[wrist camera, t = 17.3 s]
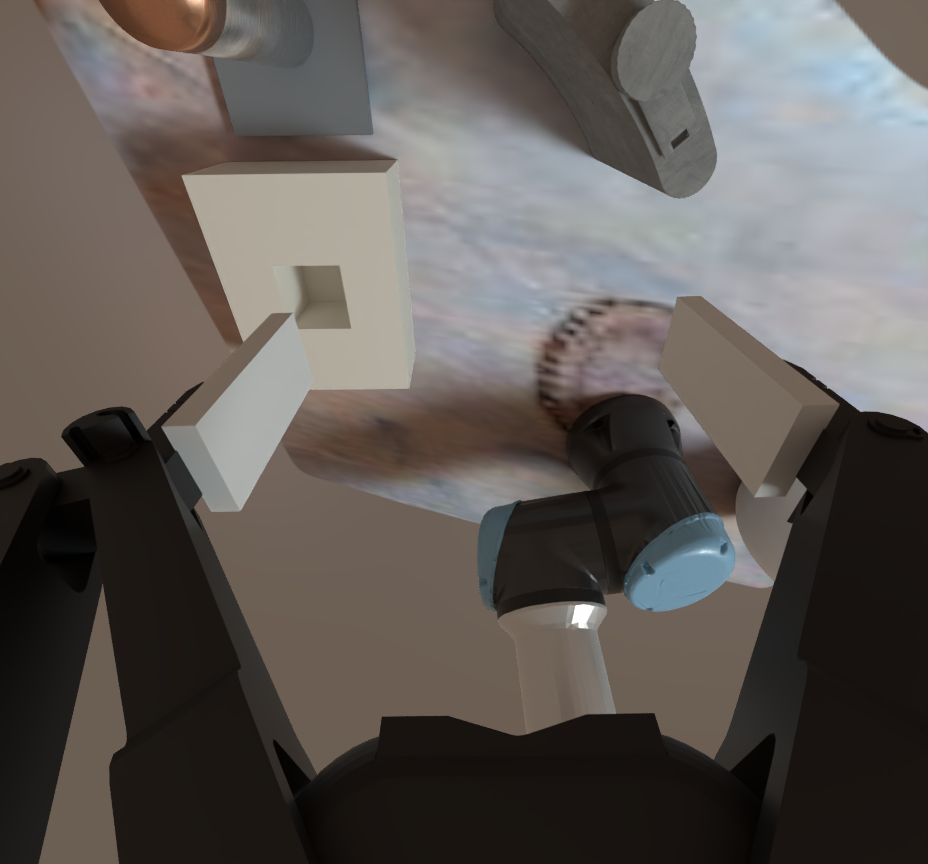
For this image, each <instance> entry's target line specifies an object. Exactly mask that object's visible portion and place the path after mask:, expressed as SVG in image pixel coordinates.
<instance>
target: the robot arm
mask: <svg viewBox="0 0 928 864" xmlns="http://www.w3.org/2000/svg"><path fill="white" fill-rule="evenodd" d="M658 370H659V371H660V372H661V374H662V375H663V376H664V378H665V379H666V380H667V382H668V383H669V384H670V386H671V387H672V388H673V390H674V391H675V392H676V394H677V395H678V396H679V398H680V399H681V400H682V402H683V403H684V404H685V406H686V407H687V408H688V410H689V411H690V412H691V414H692V415H693V416H694V418H695V419H696V420H697V422H698V423H699V424H700V426H701V427H702V428H703V430H704V431H705V432H706V433H707V435H708V436H709V437H710V439H711V440H712V441H713V443H714V444H715V445H716V447H717V448H718V449H719V451H720V452H721V453H722V455H723V456H724V457H725V459H726V460H727V461H728V463H729V464H730V465H731V467H732V468H733V469H734V471H735V472H736V473H737V475H738V476H739V477H740V479H741V480H742V481H743V483H744V484H745V485H746V487H747V488H748V489H749V491H750V492H751V493H752V495H753V496H754V497H784V496H786V495H787V493H788V492H789V490H790V488H791V486H792V485H793V483H794V481H795V480H796V478H797V479H798V480H799V481H800V482H801V483H802V484H803V485H804V486H805V487H806V489H807V490H806V491H805V493H804V495H803V496H802V498H801V499H800V501H799V503H798V504H797V506H796V507H795V509H794V511H793V512H792V514H791V515H790V517H789V519H788V520H787V522H789V523H791V524H792V523H793V524H792V527H791V531H790V534H789V537H788V540H787V544H786V547H785V550H784V553H783V556H782V560H781V563H780V566H779V569H778V573H777V576H776V579H775V582H774V585H773V589H772V592H771V595H770V598H769V602H768V605H767V608H766V611H765V615H764V618H763V621H762V624H761V627H760V631H759V634H758V637H757V641H756V644H755V647H754V650H753V653H752V657H751V660H750V663H749V666H748V669H747V673H746V676H745V679H744V682H743V686H742V689H741V692H740V695H739V698H738V702H737V705H736V708H735V711H734V715H733V718H732V721H731V724H730V727H729V730H728V733H727V735H726V737H725V740H724V741H723V743H722V745H721V747H720V749H719V751H718V753H717V754H716V756H715V759H714V760H713V759H711V758H710V757H708V756H707V755H705V754H703V753H701V752H700V751H698V750H696V749H694V748H693V747H691V746H689V745H687V744H685V743H682V742H680V741H678V740H675V739H673V738H671V737H668V736H664V735H661V733H660V730H659V727H658V723H657V720H656V717H655V714H654V713H645V714H644V713H642V714H616V711H615V707H614V703H613V698H612V694H611V690H610V685H609V682H608V677H607V673H606V668H605V664H604V660H603V656H602V651H601V647H600V643H599V639H598V634H597V629H598V627H599V625H600V623H601V622H602V620H603V618H604V617H605V615H606V614H607V608H606V605H605V601H604V597H603V595H608V594H616V593H624V594H625V596H626V598H627V599H628V600H629V601H630V602H631V604H632V605H634V606H635V607H637V608H639V609H642V610H644V609H647V610H649V611H667V610H672V609H677V608H680V607H684V606H687V605H689V604H692V603H694V602H696V601H698V600H700V599H702V598H704V597H706V596H708V595H709V594H710V593H712V592H713V591H714V590H716V589H717V588H718V587H719V586H721V585H722V584H723V583H724V582H725V581H726V579H727V578H728V577H729V575H730V574H731V572H732V570H733V568H734V565H735V557H736V556H735V550H734V547H733V544H732V542H731V540H730V539H729V537H728V535H727V533H726V531H725V529H724V525H723V521H722V520H721V518H720V517H719V516H718V515H717V514H716V512H715V511H714V509H713V508H712V506H711V504H710V503H709V501H708V499H707V498H706V496H705V495H704V493H703V491H702V490H701V488H700V487H699V485H698V483H697V482H696V480H695V479H694V477H693V475H692V474H691V472H690V470H689V469H688V467H687V466H686V464H685V462H684V460H683V452H682V443H681V433H680V429H679V426H678V423H677V421H676V420H675V418H674V416H673V415H672V413H671V412H670V410H669V409H668V408H667V407H666V406H665V405H664V404H662V403H661V402H659V401H657V400H655V399H653V398H649V397H645V396H638V395H627V396H620V397H615V398H611V399H608V400H606V401H603V402H601V403H599V404H597V405H595V406H593V407H592V408H590V409H589V410H587V411H586V412H585V413H583V414H582V415H581V416H580V417H579V418H578V419H577V420H576V422H575V423H574V424H573V426H572V427H571V429H570V431H569V434H568V436H567V441H566V450H567V454H568V458H569V461H570V464H571V466H572V468H573V470H574V471H575V473H576V474H577V475H578V476H579V477H580V478H581V479H582V480H583V482H584V483H585V484H586V485H587V486H588V487H589V489H590V491H583V492H577V493H571V494H564V495H558V496H552V497H546V498H539V499H533V500H527V501H521V500H518V501H516V502H514V503H512V504H508V505H503V506H499V507H494V508H492V509H490V510H489V511H488V512H487V513H486V514H485V515H484V517H483V520H482V521H481V525H480V529H479V536H478V548H477V567H478V576H479V578H480V579H479V588H480V594H481V599H482V602H483V604H484V606H485V607H486V608H487V609H490V610H492V611H497V615H498V624H499V626H500V627H501V628H502V629H504V630H505V631H506V632H507V633H508V634H509V635H510V636H511V637H512V638H513V639H514V641H515V648H516V655H517V662H518V671H519V678H520V686H521V694H522V702H523V710H524V718H525V726H526V735H522V736H515V735H510V734H507V733H503V732H500V731H497V730H493V729H490V728H487V727H483V726H480V725H476V724H473V723H470V722H467V721H463V720H460V719H456V718H453V717H450V716H405V717H404V716H401V717H382V720H381V727H380V734H379V737H376V738H373V739H370V740H368V741H366V742H364V743H362V744H360V745H358V746H356V747H353V748H352V749H350V750H349V751H347V752H346V753H344V754H342V755H341V756H339V757H338V758H336V759H335V760H334V761H333V762H332V763H330V764H329V765H328V766H327V767H325V768H324V769H323V770H322V771H321V772H320V773H319V774H318V775H317V774H316V772H315V770H314V768H313V766H312V764H311V762H310V760H309V758H308V757H307V755H306V753H305V751H304V749H303V748H302V746H301V744H300V742H299V740H298V739H297V737H296V734H295V732H294V730H293V728H292V725H291V723H290V721H289V719H288V716H287V714H286V712H285V710H284V707H283V705H282V703H281V700H280V698H279V696H278V694H277V691H276V689H275V687H274V684H273V682H272V680H271V678H270V675H269V673H268V671H267V669H266V666H265V664H264V662H263V660H262V657H261V655H260V653H259V651H258V648H257V646H256V644H255V641H254V639H253V637H252V635H251V632H250V630H249V628H248V626H247V623H246V621H245V619H244V616H243V614H242V612H241V610H240V607H239V605H238V603H237V601H236V598H235V596H234V594H233V592H232V589H231V587H230V585H229V582H228V580H227V578H226V576H225V573H224V571H223V569H222V567H221V564H220V562H219V560H218V557H217V556H216V553H215V551H214V548H213V546H212V544H211V542H210V539H209V537H208V535H207V533H206V530H205V528H204V526H203V524H202V521H201V519H200V517H199V515H198V513H197V512H196V510H195V509H194V506H195V505H196V503H197V502H198V501H199V499H200V498H201V496H202V497H203V499H204V500H205V502H206V503H207V505H208V507H209V509H210V510H211V512H226V511H241V509H242V507H243V505H244V504H245V502H246V500H247V498H248V497H249V495H250V493H251V491H252V490H253V488H254V486H255V484H256V483H257V481H258V479H259V477H260V475H261V474H262V472H263V470H264V468H265V467H266V465H267V463H268V461H269V459H270V458H271V456H272V454H273V453H274V451H275V449H276V447H277V446H278V444H279V442H280V440H281V439H282V437H283V435H284V433H285V431H286V430H287V428H288V426H289V424H290V423H291V421H292V419H293V417H294V416H295V414H296V412H297V410H298V409H299V407H300V405H301V403H302V402H303V400H304V398H305V396H306V394H307V393H308V391H309V389H310V387H311V386H312V384H313V382H314V381H313V377H312V374H311V371H310V367H309V364H308V360H307V357H306V354H305V350H304V347H303V344H302V340H301V337H300V333H299V330H298V327H297V323H296V320H295V316H294V313H293V312H292V313H271V314H270V315H269V316H268V317H267V318H266V319H265V321H264V322H263V323H262V324H261V325H260V326H259V327H258V328H257V329H256V330H255V331H254V332H253V333H252V334H251V335H250V336H249V337H248V338H247V339H246V340H245V341H244V342H243V343H242V344H241V345H240V346H239V347H238V348H237V349H236V350H235V351H234V352H233V353H232V354H231V355H230V356H229V358H228V359H227V360H226V361H225V362H224V363H223V364H222V365H221V366H220V367H219V368H218V369H217V370H216V371H215V372H214V373H213V374H212V375H211V376H210V377H209V378H208V379H207V380H206V381H205V382H202V383H200V384H198V385H196V386H195V387H193V388H191V389H190V390H188V391H186V392H185V393H184V394H183V395H182V396H181V397H180V398H179V399H178V400H177V401H176V404H173V405H172V406H171V407H170V408H169V409H168V410H167V411H168V412H167V413H164V414H163V415H162V416H161V417H160V418H159V419H158V420H157V421H156V422H155V423H154V424H153V425H152V426H151V427H150V428H149V429H148V430H147V431H146V430H145V428H144V427H143V425H142V423H141V422H140V420H139V419H138V417H137V416H136V414H135V412H134V411H133V410H132V409H131V408H127V407H112V408H107V409H103V410H98V411H95V412H93V413H90V414H88V415H86V416H83V417H81V418H79V419H77V420H76V421H74V422H72V423H71V424H70V425H69V426H68V427H66V428H65V429H64V430H63V433H62V438H63V439H64V441H65V442H66V443H67V445H68V446H69V447H70V448H71V450H72V451H73V452H74V454H75V455H76V456H77V457H78V459H79V460H80V461H81V463H82V464H83V465H84V467H82V468H77V469H73V470H68V471H64V472H59V473H56V472H55V471H54V470H53V469H52V468H51V466H50V465H49V464H48V463H47V462H46V461H45V460H43V459H41V458H28V459H23V460H18V461H15V462H12V463H6V464H3V465H1V466H0V864H38V863H39V859H40V855H41V850H42V846H43V842H44V837H45V833H46V828H47V824H48V820H49V815H50V811H51V807H52V802H53V798H54V794H55V789H56V785H57V780H58V776H59V771H60V767H61V763H62V759H63V754H64V750H65V745H66V741H67V737H68V732H69V728H70V723H71V719H72V715H73V711H74V706H75V702H76V698H77V693H78V689H79V684H80V680H81V675H82V671H83V667H84V663H85V658H86V653H87V649H88V645H89V641H90V636H91V632H92V628H93V623H94V619H95V615H96V610H97V606H98V601H99V597H100V593H101V588H102V584H103V587H104V593H105V599H106V605H107V611H108V618H109V624H110V630H111V637H112V643H113V649H114V656H115V662H116V668H117V675H118V681H119V687H120V694H121V700H122V706H123V712H124V719H125V725H126V731H127V742H126V745H125V747H123V748H122V749H120V750H119V751H117V752H116V753H115V754H113V757H112V760H111V763H110V766H109V773H110V791H111V799H112V808H113V816H114V825H115V832H116V841H117V850H118V857H119V864H928V433H927V432H926V431H924V430H923V429H922V428H921V427H920V426H918V425H916V424H914V423H912V422H910V421H908V420H906V419H903V418H900V417H897V416H894V415H891V414H885V413H880V412H865V411H864V412H860V411H859V410H857V409H856V408H855V407H853V406H852V405H851V404H849V403H848V402H847V401H845V400H844V399H843V398H841V397H840V396H839V395H837V394H836V393H835V392H834V391H832V390H831V389H827V386H826V385H824V384H823V383H822V382H820V381H819V380H816V378H815V377H814V376H812V375H811V374H810V373H808V372H807V371H806V370H804V369H803V368H801V367H799V366H797V365H794V364H792V363H790V362H788V361H785V360H782V359H781V358H780V357H778V356H777V355H776V354H774V353H773V352H772V351H771V350H769V349H768V348H767V347H765V346H764V345H763V344H762V343H760V342H759V341H758V340H756V339H755V338H754V337H753V336H751V335H750V334H749V333H747V332H746V331H745V330H744V329H742V328H741V327H740V326H738V325H737V324H736V323H735V322H733V321H732V320H731V319H730V318H728V317H727V316H726V315H724V314H723V313H722V312H721V311H719V310H718V309H717V308H715V307H714V306H713V305H712V304H710V303H709V302H708V301H706V300H705V299H704V298H703V297H701V296H687V297H677V301H676V304H675V308H674V312H673V316H672V319H671V323H670V327H669V331H668V335H667V338H666V342H665V346H664V350H663V353H662V357H661V361H660V365H659V369H658Z"/></svg>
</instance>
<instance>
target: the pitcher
mask: <svg viewBox="0 0 928 864" xmlns="http://www.w3.org/2000/svg"><path fill="white" fill-rule="evenodd" d="M806 490H807V489H806V487H805V486H804V485H803V484H802V483H801V482H800V481H799V480H798V479H797V478H796V480H795V481H794V483H793V485H792V486H791V488H790V490H789V492H788V493H787V495H786V496H784V497H754V496H753V495H752V493H751V492H750V491H749V489H748V488H747V487H746V485H745V484H744V483H743V481H742V482H741V484H740V486H739V488H738V492H737V496H736V511H735V512H736V521H737V525H738V529H739V532H740V534H741V537H742V539H743V541H744V543H745V545H746V547H747V549H748V550H749V552H750V553H751V555H752V556H753V558H754V559H755V561H756V562H757V563H758V564H759V566H760V567H761V568H762V569H763V570H764V571H765V572H766V573H767V574H768V576H769V577H770V578H771V579H772V580H773V581H775V579H776V576H777V573H778V569H779V566H780V563H781V560H782V556H783V553H784V550H785V547H786V544H787V540H788V537H789V534H790V531H791V527H792V524H793V523H792V524H791V523H789V522H787V520H788V519H789V517H790V515H791V514H792V512H793V511H794V509H795V507H796V506H797V504H798V503H799V501H800V499H801V498H802V496H803V495H804V493H805V491H806Z"/></svg>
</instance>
